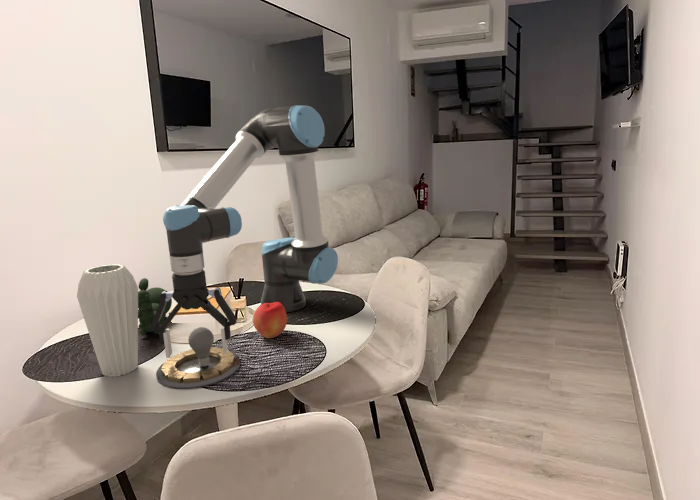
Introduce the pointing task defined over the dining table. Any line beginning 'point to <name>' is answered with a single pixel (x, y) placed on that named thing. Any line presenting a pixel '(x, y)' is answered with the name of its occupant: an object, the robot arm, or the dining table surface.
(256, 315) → the apple
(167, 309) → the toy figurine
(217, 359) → the socket
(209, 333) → the light bulb
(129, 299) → the vase
